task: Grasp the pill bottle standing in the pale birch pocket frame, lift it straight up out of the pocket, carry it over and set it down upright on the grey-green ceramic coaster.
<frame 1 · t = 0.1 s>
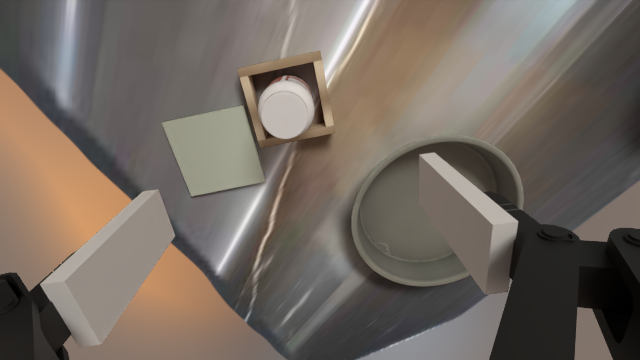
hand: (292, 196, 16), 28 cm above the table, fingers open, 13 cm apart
cake pan: (425, 204, 49), on the table
pocket frame: (289, 99, 41), on the table
coaster: (216, 152, 44), on the table
pill bottle: (289, 98, 41), resting in pocket frame
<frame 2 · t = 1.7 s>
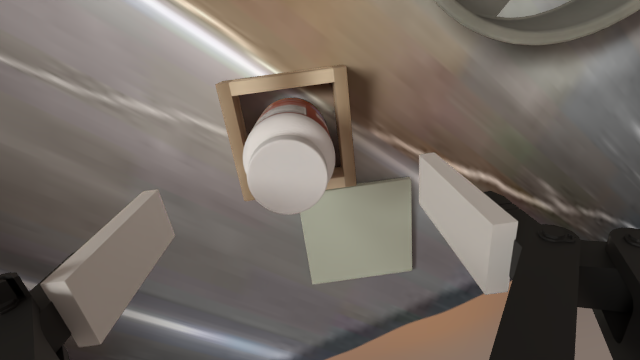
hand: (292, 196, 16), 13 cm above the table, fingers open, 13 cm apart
pocket frame: (292, 131, 28), on the table
coaster: (357, 232, 33), on the table
pill bottle: (292, 130, 28), resting in pocket frame
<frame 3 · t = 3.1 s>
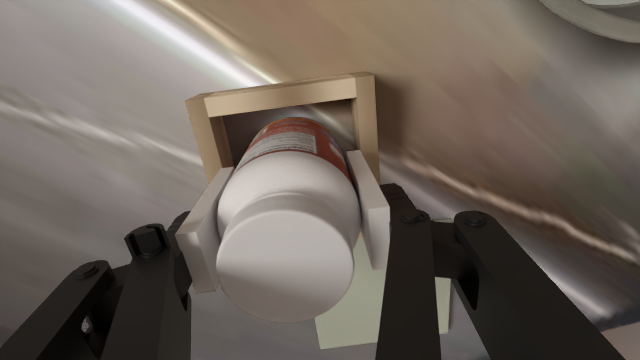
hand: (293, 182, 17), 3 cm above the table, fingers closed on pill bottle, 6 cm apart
pocket frame: (295, 161, 21), on the table
coaster: (379, 286, 25), on the table
pill bottle: (295, 160, 21), resting in pocket frame, touching gripper
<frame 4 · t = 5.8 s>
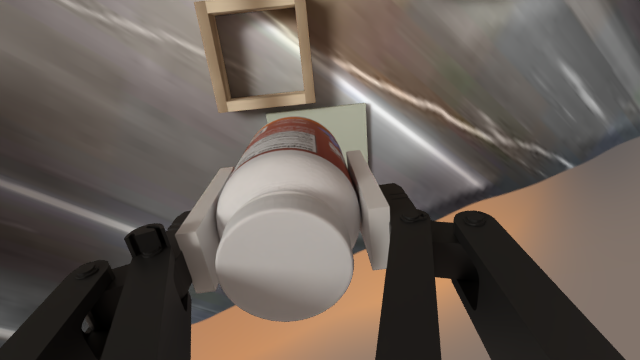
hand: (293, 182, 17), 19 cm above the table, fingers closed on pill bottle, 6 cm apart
pocket frame: (261, 54, 32), on the table
coaster: (320, 154, 37), on the table
pill bottle: (295, 159, 21), point 15 cm above the table, touching gripper
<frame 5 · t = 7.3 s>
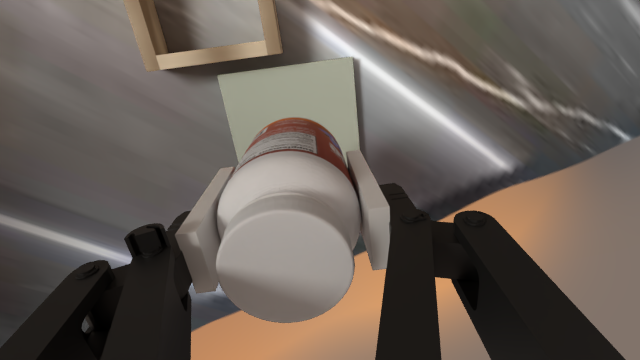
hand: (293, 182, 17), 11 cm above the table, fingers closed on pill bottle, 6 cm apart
coaster: (295, 130, 28), on the table
pill bottle: (295, 159, 21), point 8 cm above the table, touching gripper
when the fingers open (6 cm above the table, at t = 8.5 s): pill bottle drops 2 cm, resting on coaster.
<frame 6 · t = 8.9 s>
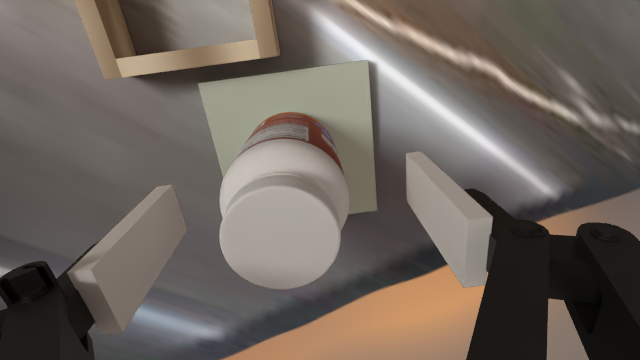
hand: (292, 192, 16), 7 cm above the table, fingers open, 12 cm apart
coaster: (296, 150, 23), on the table
pill bottle: (291, 152, 22), resting on coaster
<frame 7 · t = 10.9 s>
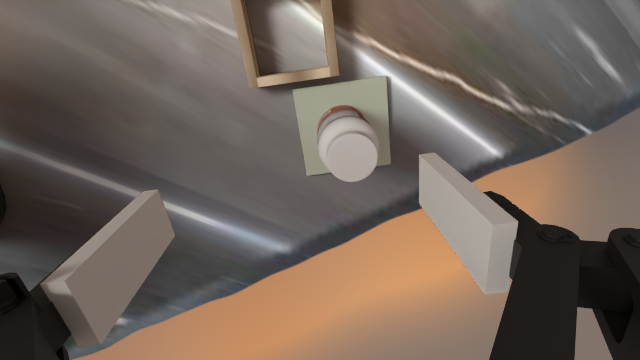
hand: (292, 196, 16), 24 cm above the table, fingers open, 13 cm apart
pocket frame: (287, 33, 35), on the table
coaster: (343, 127, 39), on the table
pill bottle: (341, 128, 39), resting on coaster
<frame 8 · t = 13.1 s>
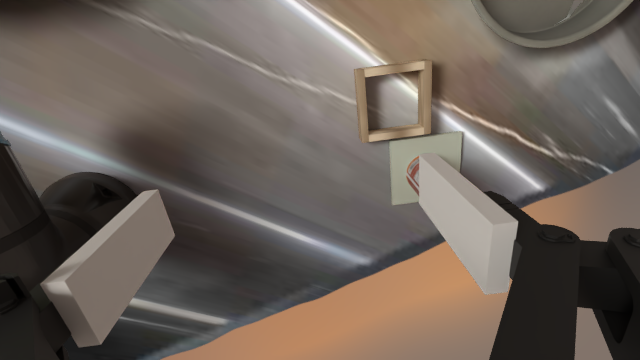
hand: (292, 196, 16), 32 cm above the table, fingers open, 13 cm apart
pocket frame: (390, 100, 46), on the table
coaster: (424, 168, 50), on the table
pill bottle: (423, 169, 50), resting on coaster
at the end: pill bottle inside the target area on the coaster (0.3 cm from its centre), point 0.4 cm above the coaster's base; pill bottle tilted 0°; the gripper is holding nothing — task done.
